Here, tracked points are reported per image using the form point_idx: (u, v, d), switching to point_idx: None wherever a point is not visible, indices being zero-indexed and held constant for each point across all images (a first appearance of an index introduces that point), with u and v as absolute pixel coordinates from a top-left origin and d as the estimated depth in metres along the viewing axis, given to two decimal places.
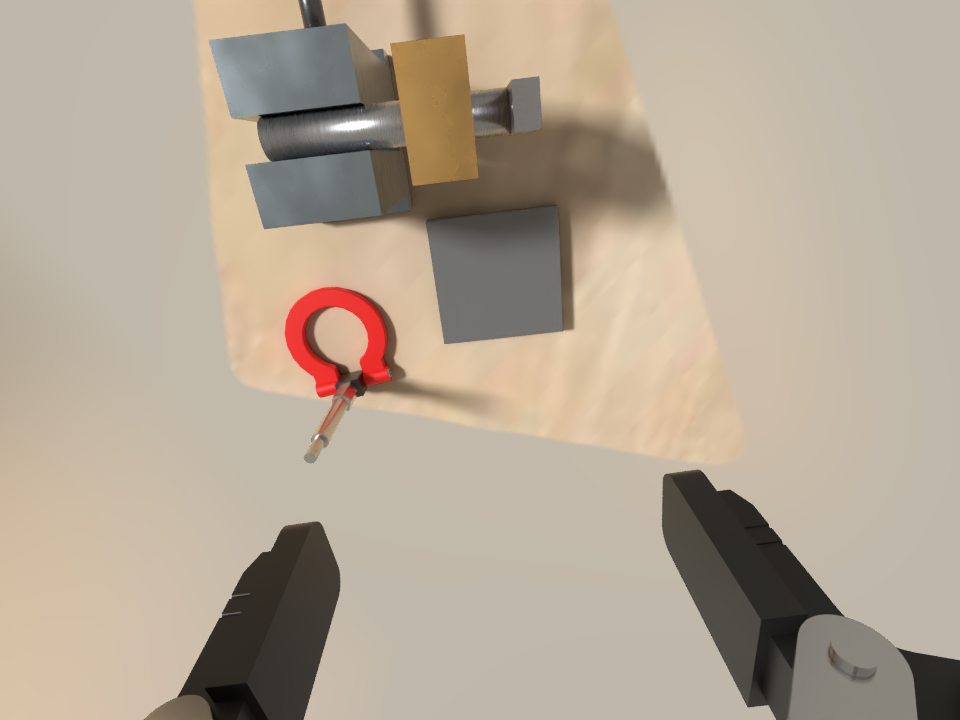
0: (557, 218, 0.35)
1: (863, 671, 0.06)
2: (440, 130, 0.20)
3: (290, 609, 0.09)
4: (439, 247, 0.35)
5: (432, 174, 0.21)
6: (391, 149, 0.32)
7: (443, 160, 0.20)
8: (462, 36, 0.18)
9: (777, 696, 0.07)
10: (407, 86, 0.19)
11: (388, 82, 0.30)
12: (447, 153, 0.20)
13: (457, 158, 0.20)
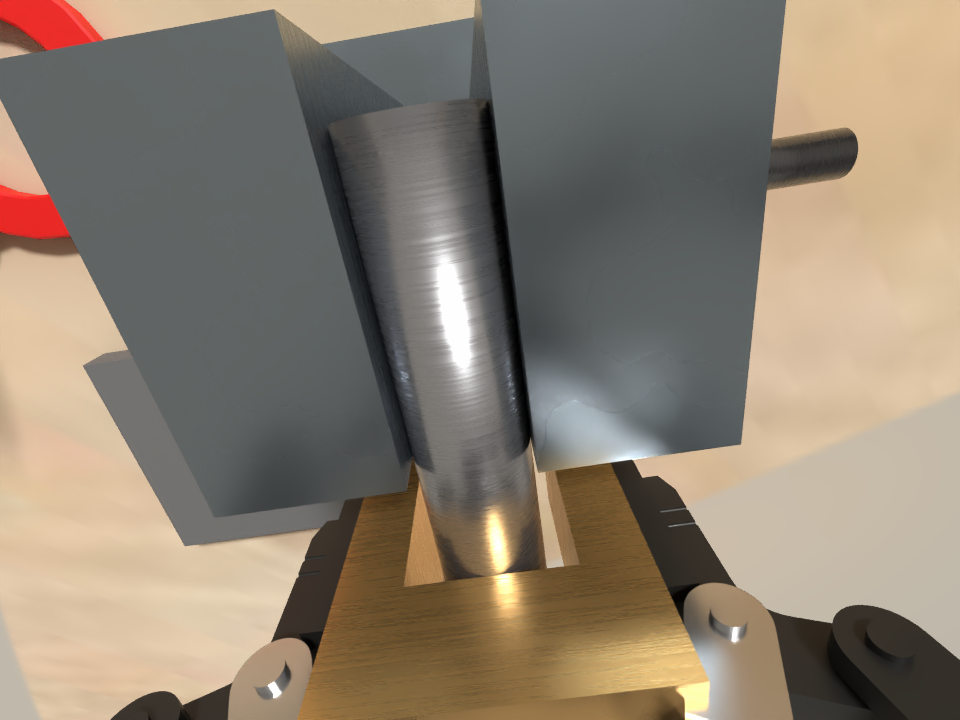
0: None
1: (733, 629, 0.07)
2: None
3: None
4: None
5: None
6: None
7: None
8: None
9: None
10: (589, 715, 0.06)
11: None
12: None
13: None
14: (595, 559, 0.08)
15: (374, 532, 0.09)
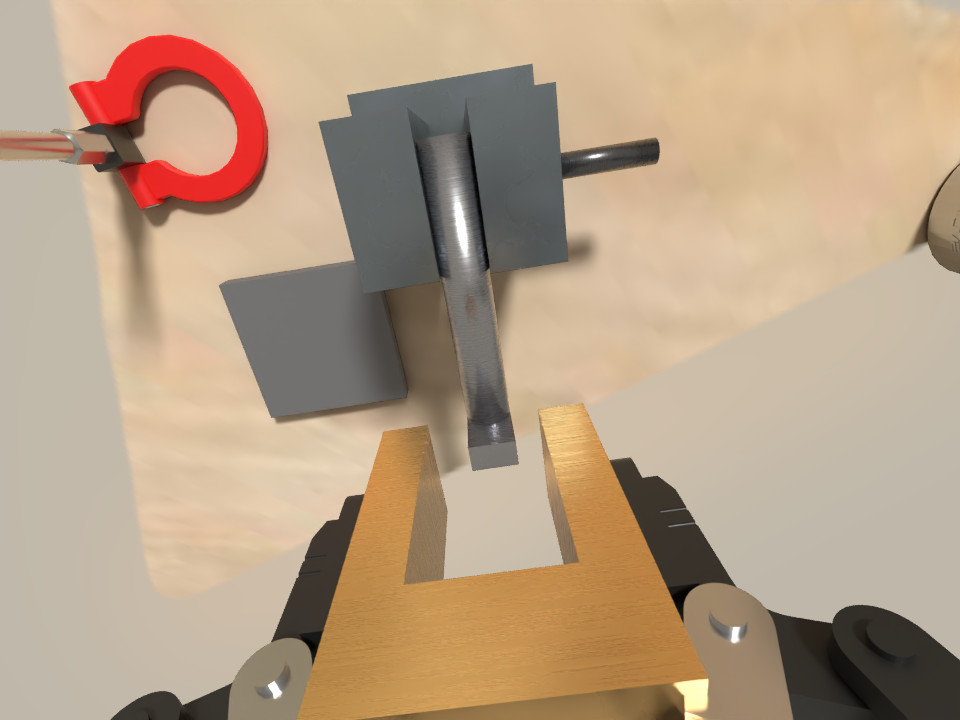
0: (394, 397, 0.33)
1: (733, 629, 0.07)
2: None
3: None
4: (344, 277, 0.29)
5: None
6: None
7: None
8: None
9: None
10: (589, 713, 0.06)
11: None
12: None
13: None
14: (595, 557, 0.08)
15: (374, 531, 0.09)
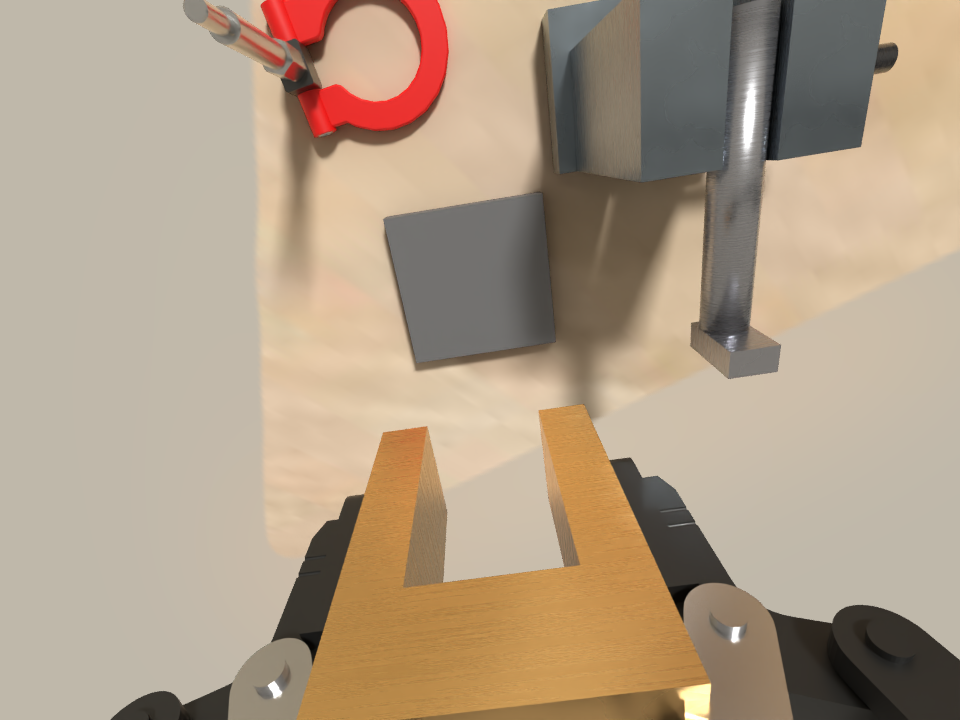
0: (544, 342, 0.32)
1: (733, 630, 0.07)
2: None
3: None
4: (511, 210, 0.29)
5: None
6: None
7: None
8: None
9: None
10: (590, 717, 0.06)
11: None
12: None
13: None
14: (595, 560, 0.08)
15: (374, 532, 0.09)
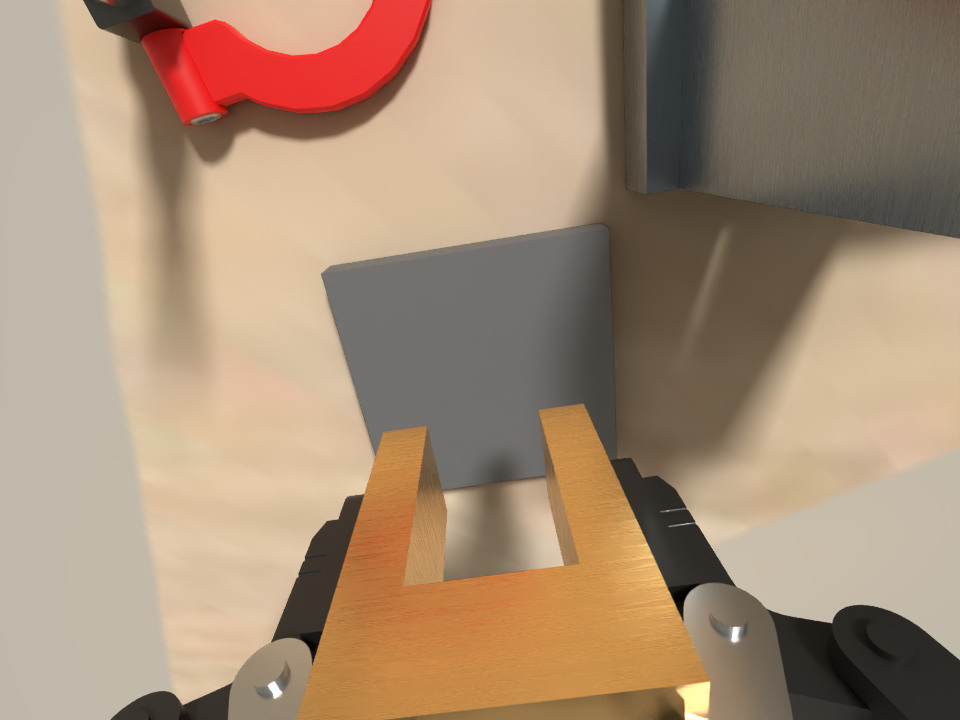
0: None
1: (733, 630, 0.07)
2: None
3: None
4: (552, 258, 0.16)
5: None
6: None
7: None
8: None
9: None
10: (590, 716, 0.06)
11: None
12: None
13: None
14: (595, 559, 0.08)
15: (374, 532, 0.09)
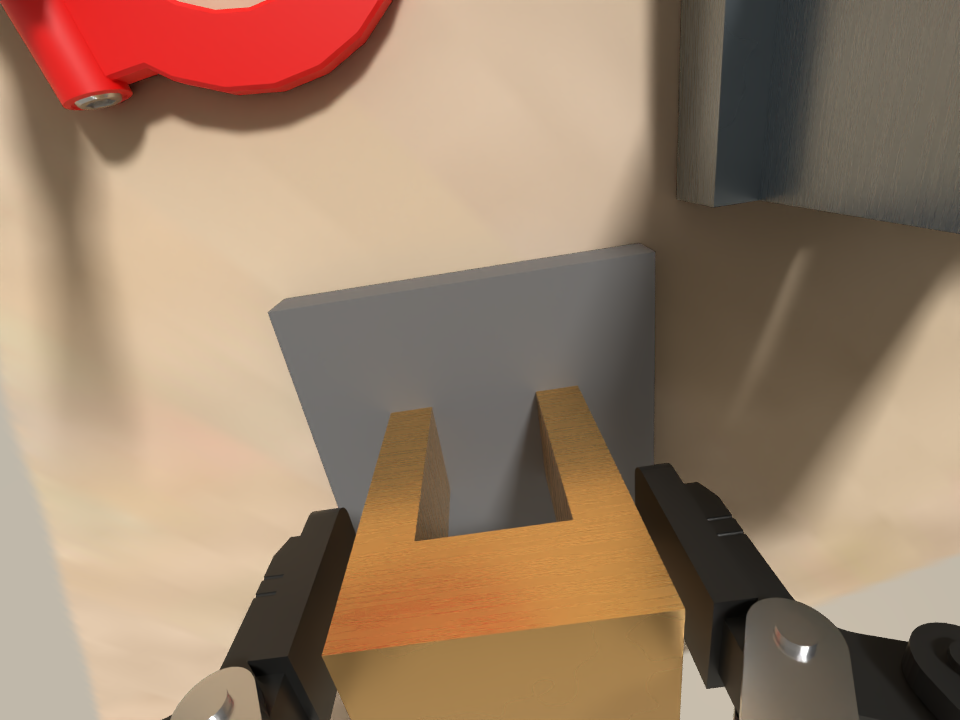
0: None
1: (803, 649, 0.06)
2: (475, 701, 0.07)
3: (323, 590, 0.09)
4: (578, 291, 0.12)
5: (363, 690, 0.07)
6: None
7: (402, 708, 0.07)
8: None
9: (730, 676, 0.07)
10: (580, 641, 0.07)
11: None
12: (421, 714, 0.08)
13: None
14: (587, 515, 0.09)
15: (386, 497, 0.10)
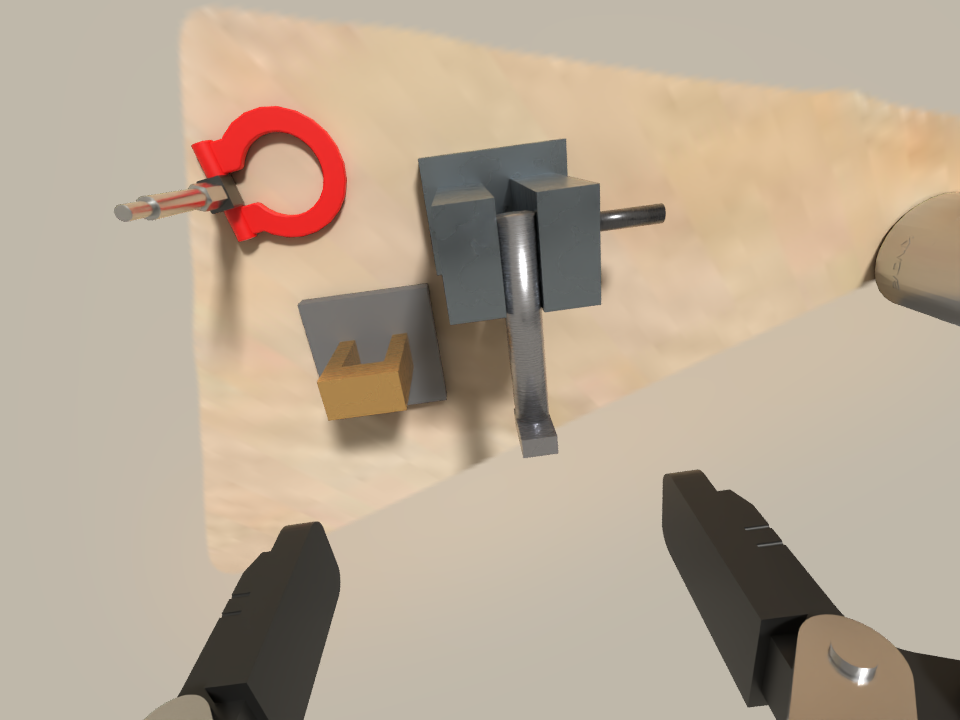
0: (436, 399, 0.39)
1: (863, 671, 0.06)
2: (353, 398, 0.31)
3: (290, 609, 0.09)
4: (402, 299, 0.36)
5: (326, 394, 0.31)
6: None
7: (336, 400, 0.31)
8: (405, 408, 0.32)
9: (777, 696, 0.07)
10: (376, 380, 0.31)
11: None
12: (340, 402, 0.31)
13: (338, 408, 0.31)
14: (387, 360, 0.32)
15: (335, 360, 0.33)
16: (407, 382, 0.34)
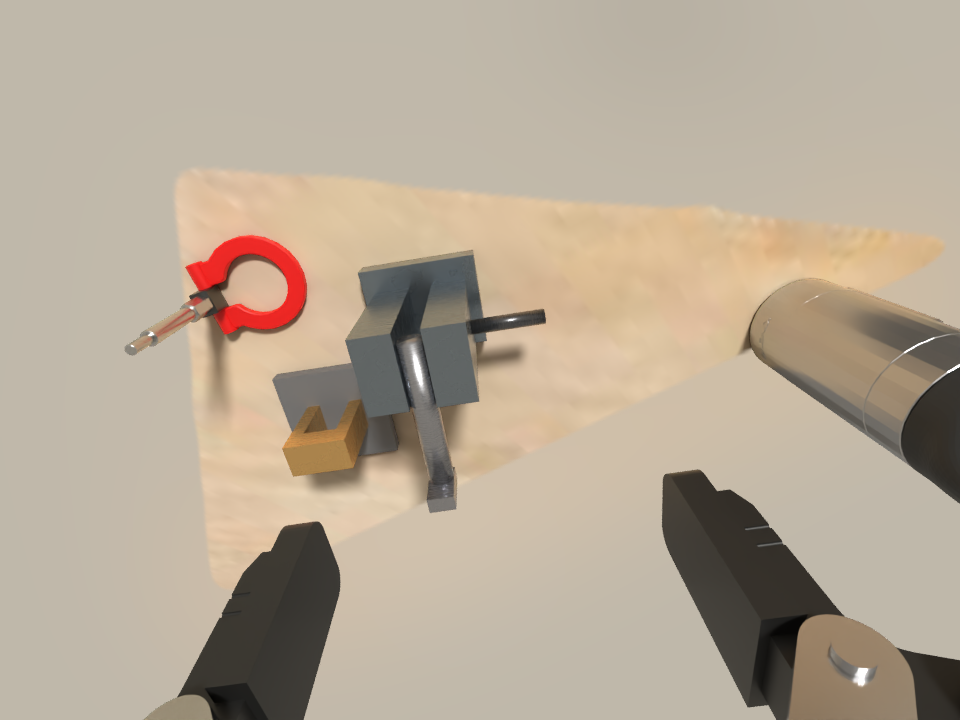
0: (389, 450, 0.48)
1: (863, 671, 0.06)
2: (311, 460, 0.40)
3: (291, 609, 0.09)
4: None
5: (290, 457, 0.40)
6: None
7: (297, 461, 0.40)
8: (352, 467, 0.40)
9: (777, 696, 0.07)
10: (327, 446, 0.39)
11: None
12: (301, 463, 0.40)
13: (300, 467, 0.40)
14: (339, 427, 0.41)
15: (300, 426, 0.42)
16: (357, 443, 0.42)
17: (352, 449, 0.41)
